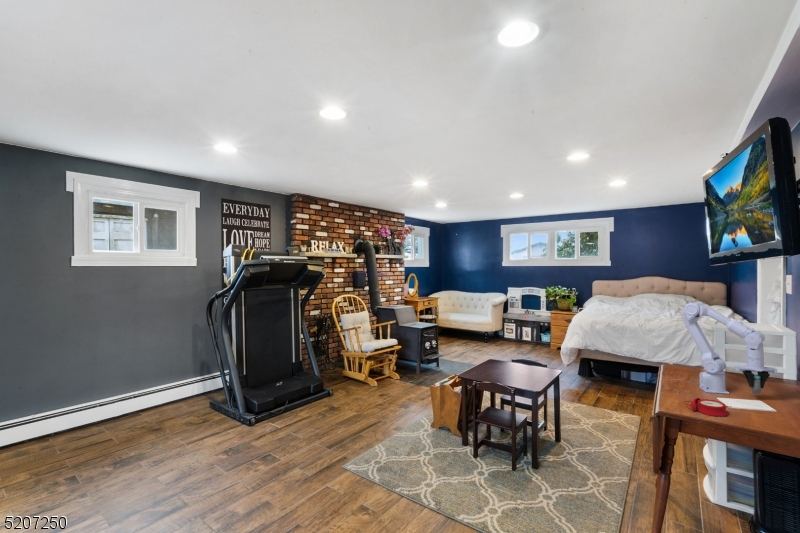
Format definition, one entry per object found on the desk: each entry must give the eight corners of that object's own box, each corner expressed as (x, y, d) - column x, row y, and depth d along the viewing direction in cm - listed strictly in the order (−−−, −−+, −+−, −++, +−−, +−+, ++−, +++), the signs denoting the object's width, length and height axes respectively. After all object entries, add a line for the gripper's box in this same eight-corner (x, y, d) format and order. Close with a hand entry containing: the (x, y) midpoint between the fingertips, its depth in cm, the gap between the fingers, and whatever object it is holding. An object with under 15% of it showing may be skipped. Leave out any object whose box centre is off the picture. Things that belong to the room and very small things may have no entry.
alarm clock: (728, 411, 151) (684, 394, 162) (725, 425, 152) (680, 407, 163) (733, 404, 158) (690, 388, 169) (729, 417, 159) (687, 401, 170)
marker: (753, 393, 170) (753, 376, 170) (750, 391, 173) (749, 374, 173) (762, 394, 169) (762, 376, 169) (758, 391, 172) (758, 374, 172)
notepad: (729, 408, 162) (729, 406, 162) (716, 398, 174) (716, 397, 174) (776, 411, 157) (776, 410, 157) (760, 401, 168) (760, 400, 168)
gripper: (739, 359, 170) (740, 388, 170) (780, 360, 165) (782, 391, 165) (732, 355, 176) (733, 384, 176) (771, 357, 171) (772, 386, 171)
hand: (756, 387), depth 171 cm, fingers closed on marker, 3 cm apart
